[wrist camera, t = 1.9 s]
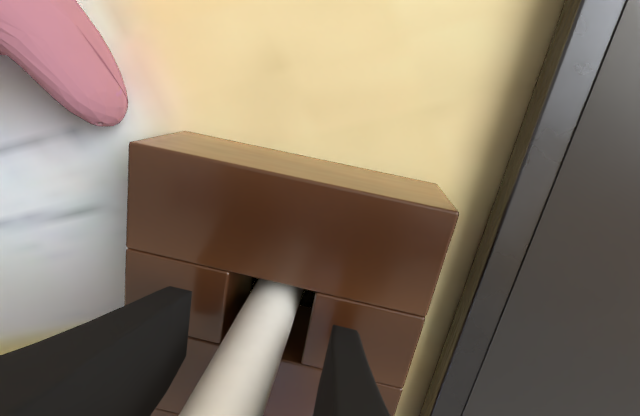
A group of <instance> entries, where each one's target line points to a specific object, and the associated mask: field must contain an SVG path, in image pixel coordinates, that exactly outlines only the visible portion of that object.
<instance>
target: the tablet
mask: <svg viewBox="0 0 640 416" xmlns="http://www.w3.org/2000/svg"><path fill="white" fill-rule="evenodd" d="M419 416H640V0H566V1H565V4H564V7H563V9H562V12H561V15H560V18H559V21H558V24H557V26H556V29H555V32H554V35H553V38H552V41H551V43H550V46H549V49H548V52H547V55H546V58H545V60H544V63H543V66H542V69H541V72H540V75H539V77H538V80H537V83H536V86H535V89H534V92H533V95H532V97H531V100H530V103H529V106H528V109H527V112H526V114H525V117H524V120H523V123H522V126H521V129H520V131H519V134H518V137H517V140H516V143H515V146H514V148H513V151H512V154H511V157H510V160H509V163H508V165H507V168H506V171H505V174H504V177H503V180H502V182H501V185H500V188H499V191H498V194H497V197H496V199H495V202H494V205H493V208H492V211H491V214H490V217H489V219H488V222H487V225H486V228H485V231H484V234H483V236H482V239H481V242H480V245H479V248H478V251H477V253H476V256H475V259H474V262H473V265H472V268H471V270H470V273H469V276H468V279H467V282H466V285H465V287H464V290H463V293H462V296H461V299H460V302H459V304H458V307H457V310H456V313H455V316H454V319H453V322H452V324H451V327H450V330H449V333H448V336H447V339H446V341H445V344H444V347H443V350H442V353H441V356H440V358H439V361H438V364H437V367H436V370H435V373H434V375H433V378H432V381H431V384H430V387H429V390H428V392H427V395H426V398H425V401H424V404H423V407H422V409H421V412H420V415H419Z"/></svg>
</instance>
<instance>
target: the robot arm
mask: <svg viewBox="0 0 640 416" xmlns="http://www.w3.org/2000/svg"><path fill="white" fill-rule="evenodd" d="M191 298H192V291H189V290H185V289H181V288H176V287H172V286H168V287H166V288H163V289H161V290H158V291H156V292H154V293H152V294H149V295H147V296H145V297H143V298H141V299H138V300H136V301H134V302H132V303H130V304H127V305H125V306H123V307H121V308H119V309H116V310H114V311H112V312H110V313H107V314H105V315H103V316H101V317H98V318H96V319H94V320H92V321H89V322H87V323H84V324H82V325H79V326H77V327H75V328H72V329H70V330H67V331H65V332H62V333H60V334H57V335H55V336H52V337H50V338H47V339H45V340H42V341H40V342H37V343H34V344H32V345H29V346H26V347H23V348H21V349H18V350H15V351H12V352H9V353H6V354H3V355H0V416H150V415H151V414H152V412H153V411H154V410H155V408H156V407H157V405H158V404H159V402H160V401H161V400H162V398H163V397H164V395H165V394H166V392H167V390H168V389H169V387H170V385H171V383H172V381H173V380H174V378H175V376H176V374H177V372H178V370H179V369H180V367H181V365H182V363H183V361H184V359H185V357H186V353H187V342H188V331H189V320H190V309H191ZM313 416H390V414H389V412H388V409H387V407H386V405H385V403H384V401H383V398H382V396H381V393H380V391H379V389H378V386H377V384H376V382H375V379H374V377H373V374H372V372H371V369H370V366H369V363H368V361H367V358H366V355H365V352H364V348H363V345H362V342H361V338H360V335H359V333H358V331H357V330H354V329H350V328H345V327H341V326H337V325H333V326H332V330H331V335H330V339H329V343H328V348H327V352H326V356H325V360H324V365H323V369H322V373H321V377H320V382H319V386H318V391H317V396H316V402H315V407H314V413H313Z"/></svg>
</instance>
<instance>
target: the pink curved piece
mask: <svg viewBox="0 0 640 416" xmlns="http://www.w3.org/2000/svg"><path fill="white" fill-rule="evenodd" d="M0 55H7V56H9V57H10V58H11V59H12V60H13V61H15V62H16V63H17V64H18V65H19V66H20V67H21V68H22V69H24V70H25V71H26V72H27V73H28V74H29V75H30V76H31V77H32V78H33V79H34V80H35V81H36V82H37V83H38V84H39V85H40V86H41V87H42V88H43V89H44V90H45V91H47V92H48V93H49V94H50V95H51V96H52V97H53V98H54V99H55V100H56V101H58V102H59V103H60V104H61V105H62V106H63V107H65V108H66V109H67V110H68V111H69V112H71V113H73V114H75V115H76V116H78V117H80V118H82V119H83V120H85V121H87V122H89V123H91V124H93V125H96V126H105V127H108V126H114V125H116V124H118V123H120V122H121V120H122V119H123V118H124V116H125V114H126V111H127V108H128V99H127V93H126V88H125V85H124V82H123V79H122V76H121V73H120V71H119V68H118V66H117V64H116V62H115V60H114V57H113V55H112V53H111V52H110V50H109V48H108V47H107V45H106V43H105V41H104V40H103V38H102V36H101V35H100V33H99V31H98V30H97V29H96V27H95V26H94V25H93V23H92V22H91V21H90V19H89V18H88V16H87V15H86V14H85V12H84V11H83V10H82V8H81V7H80V5H79V4H78V3H77V1H76V0H0Z"/></svg>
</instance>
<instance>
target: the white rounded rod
mask: <svg viewBox="0 0 640 416" xmlns="http://www.w3.org/2000/svg"><path fill="white" fill-rule="evenodd" d="M303 290H304V289H303V288H298V287H294V286H290V285H285V284H281V283H277V282H273V281H268V280H264V279H260V278H259V279H258V281H257V283H256V284H255V286H254V288H253V290H252V291H251V293H250V295H249V296H248V298H247V300H246V302H245V303H244V305H243V307H242V308H241V310H240V312H239V313H238V315H237V317H236V319H235V320H234V322H233V324H232V325H231V327H230V329H229V331H228V332H227V334H226V336H225V337H224V339H223V341H222V342H221V344H220V346H219V348H218V349H217V351H216V353H215V354H214V356H213V358H212V360H211V361H210V363H209V365H208V366H207V368H206V370H205V371H204V373H203V375H202V377H201V378H200V380H199V382H198V383H197V385H196V387H195V389H194V390H193V392H192V394H191V395H190V397H189V399H188V400H187V402H186V404H185V406H184V407H183V409H182V411H181V412H180V414H179V416H263V414H264V411H265V408H266V405H267V402H268V398H269V395H270V392H271V389H272V386H273V383H274V380H275V377H276V374H277V371H278V368H279V364H280V361H281V358H282V355H283V352H284V349H285V346H286V343H287V340H288V337H289V334H290V331H291V327H292V324H293V321H294V318H295V315H296V312H297V309H298V306H299V303H300V300H301V297H302V293H303Z"/></svg>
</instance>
